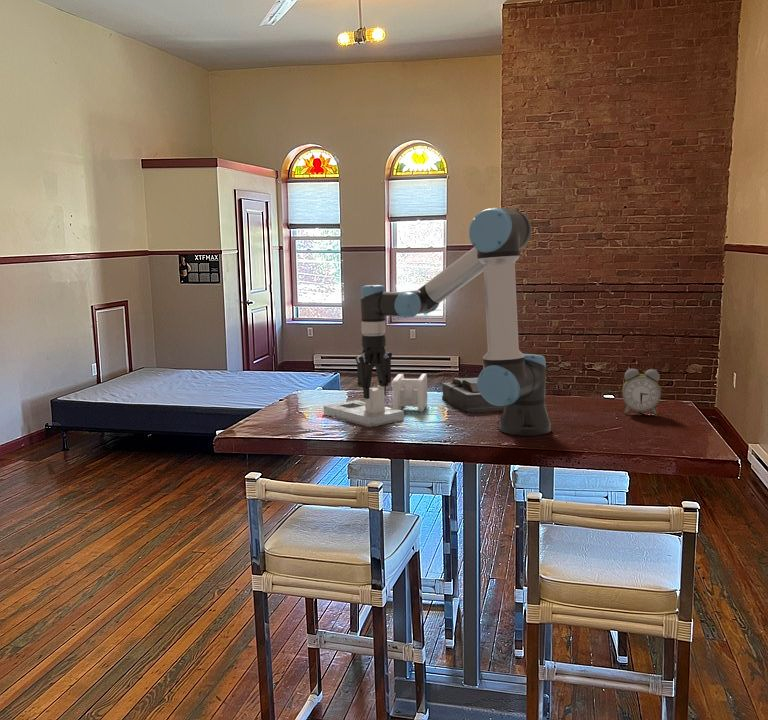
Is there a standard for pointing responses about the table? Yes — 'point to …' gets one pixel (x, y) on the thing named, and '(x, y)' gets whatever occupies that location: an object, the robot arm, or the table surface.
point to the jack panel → (362, 414)
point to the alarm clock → (641, 390)
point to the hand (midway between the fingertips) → (375, 407)
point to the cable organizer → (409, 392)
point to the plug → (377, 401)
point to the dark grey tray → (467, 396)
